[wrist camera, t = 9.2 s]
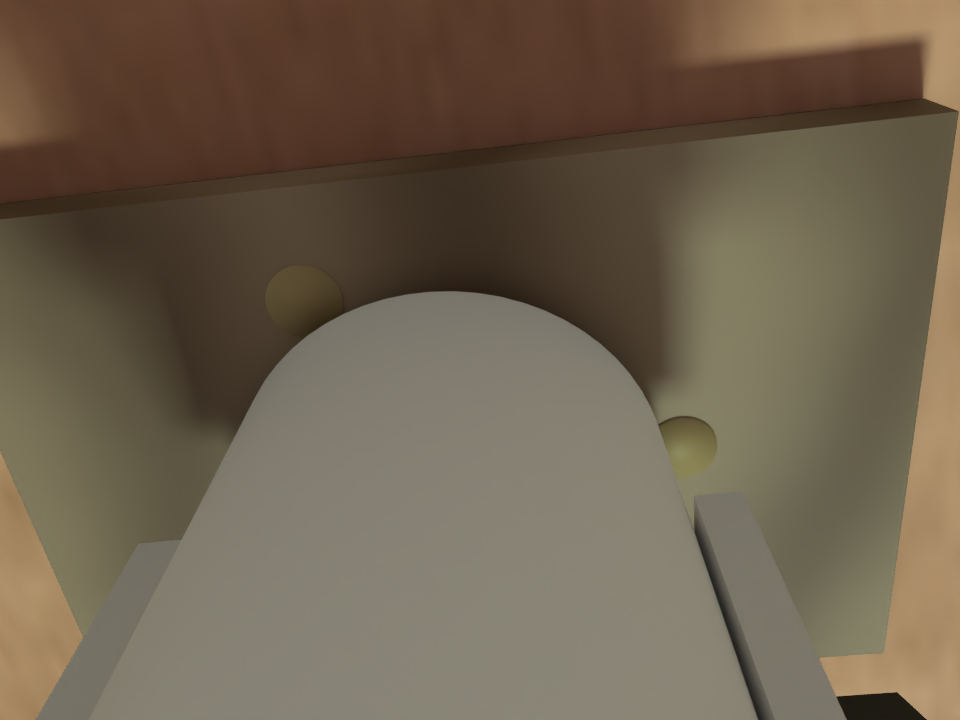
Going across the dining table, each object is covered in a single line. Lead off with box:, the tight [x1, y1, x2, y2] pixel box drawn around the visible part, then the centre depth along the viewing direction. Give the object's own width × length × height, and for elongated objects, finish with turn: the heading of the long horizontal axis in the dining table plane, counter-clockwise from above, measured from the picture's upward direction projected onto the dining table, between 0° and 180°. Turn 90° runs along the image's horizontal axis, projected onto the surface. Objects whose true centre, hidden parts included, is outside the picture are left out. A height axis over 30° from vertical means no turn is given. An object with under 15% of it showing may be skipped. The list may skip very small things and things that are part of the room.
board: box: [0, 99, 959, 658], centre depth 17 cm, size 18×12×1 cm, turn 97°
